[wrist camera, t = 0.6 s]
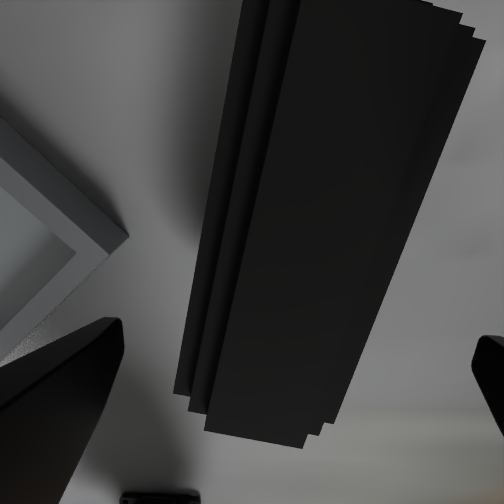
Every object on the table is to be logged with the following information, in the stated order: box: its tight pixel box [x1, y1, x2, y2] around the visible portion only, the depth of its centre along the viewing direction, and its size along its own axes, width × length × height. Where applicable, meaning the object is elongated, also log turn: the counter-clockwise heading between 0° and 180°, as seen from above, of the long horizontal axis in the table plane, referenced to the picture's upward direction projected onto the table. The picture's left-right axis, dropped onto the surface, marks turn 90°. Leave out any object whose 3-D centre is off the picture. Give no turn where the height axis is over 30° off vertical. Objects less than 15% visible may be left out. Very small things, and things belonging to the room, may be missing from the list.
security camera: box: [173, 0, 486, 449], centre depth 16 cm, size 7×18×10 cm, turn 168°
